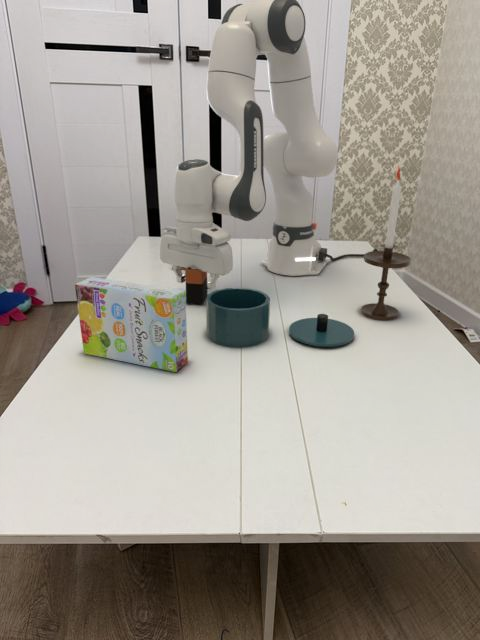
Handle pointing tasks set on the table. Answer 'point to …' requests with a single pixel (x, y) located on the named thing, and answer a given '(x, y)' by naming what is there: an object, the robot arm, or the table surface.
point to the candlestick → (386, 262)
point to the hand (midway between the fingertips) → (195, 285)
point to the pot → (237, 317)
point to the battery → (195, 285)
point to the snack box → (133, 322)
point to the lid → (321, 331)
